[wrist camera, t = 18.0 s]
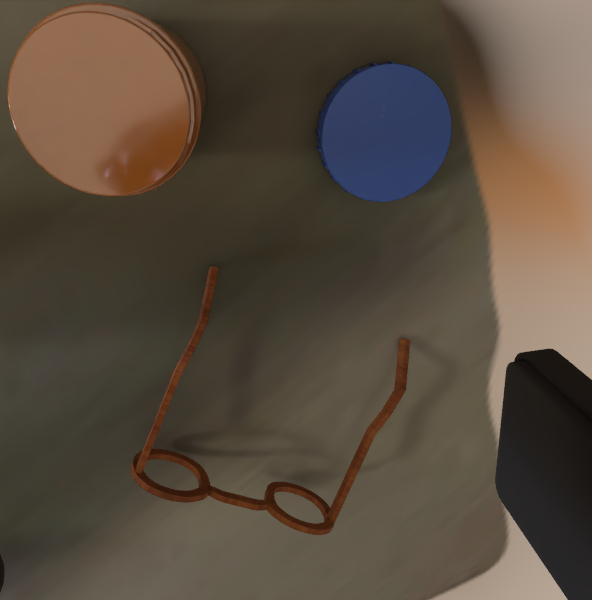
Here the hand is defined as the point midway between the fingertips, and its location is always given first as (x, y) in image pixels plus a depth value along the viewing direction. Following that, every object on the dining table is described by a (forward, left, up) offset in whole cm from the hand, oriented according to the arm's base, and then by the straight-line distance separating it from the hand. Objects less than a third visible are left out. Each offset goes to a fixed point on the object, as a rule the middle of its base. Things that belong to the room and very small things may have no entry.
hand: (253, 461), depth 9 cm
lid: (+6, -5, -20) cm, 22 cm away
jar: (+2, +6, -21) cm, 22 cm away
